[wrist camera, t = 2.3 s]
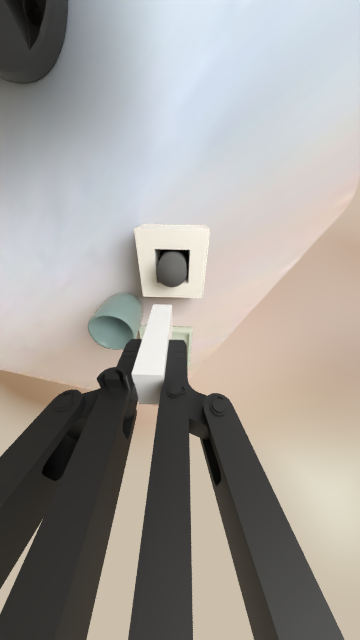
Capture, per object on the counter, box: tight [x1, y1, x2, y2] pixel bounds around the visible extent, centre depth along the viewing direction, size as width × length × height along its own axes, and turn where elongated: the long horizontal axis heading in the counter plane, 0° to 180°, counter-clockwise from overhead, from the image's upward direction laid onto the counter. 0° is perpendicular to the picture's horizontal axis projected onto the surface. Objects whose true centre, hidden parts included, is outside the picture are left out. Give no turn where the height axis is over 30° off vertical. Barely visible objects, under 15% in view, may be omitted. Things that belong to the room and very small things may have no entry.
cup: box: [88, 293, 143, 350], centre depth 31 cm, size 8×8×10 cm
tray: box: [139, 326, 192, 366], centre depth 41 cm, size 12×12×2 cm
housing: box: [134, 224, 210, 298], centre depth 26 cm, size 10×10×6 cm
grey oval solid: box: [156, 249, 187, 287], centre depth 24 cm, size 4×4×6 cm
